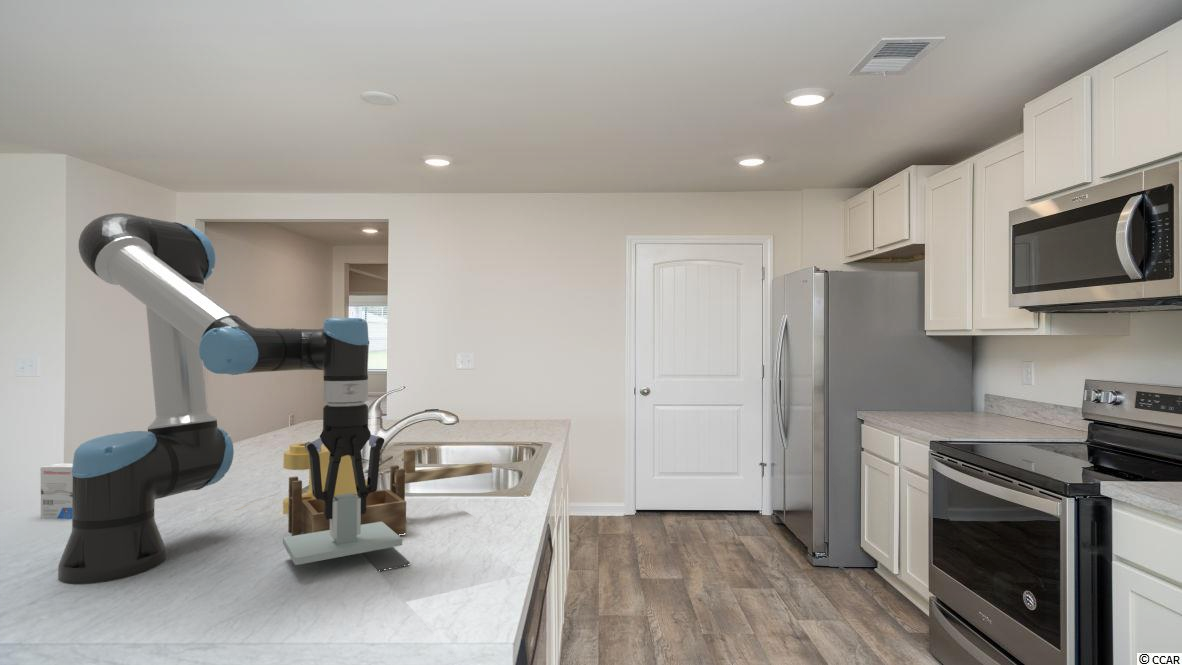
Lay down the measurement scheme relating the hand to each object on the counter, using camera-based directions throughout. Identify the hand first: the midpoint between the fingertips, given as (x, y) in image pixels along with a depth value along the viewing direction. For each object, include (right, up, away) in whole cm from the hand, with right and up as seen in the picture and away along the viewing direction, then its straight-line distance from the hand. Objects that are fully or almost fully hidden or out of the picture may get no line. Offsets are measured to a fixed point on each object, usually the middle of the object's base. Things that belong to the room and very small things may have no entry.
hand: (345, 534), depth 112 cm
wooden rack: (-6, -6, +19) cm, 20 cm away
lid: (-1, -2, +2) cm, 3 cm away
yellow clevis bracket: (-20, -6, +39) cm, 45 cm away
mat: (-1, -6, +2) cm, 6 cm away
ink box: (-76, -6, +31) cm, 82 cm away
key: (+10, +2, +34) cm, 36 cm away
